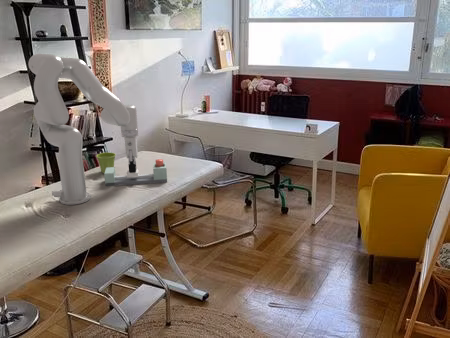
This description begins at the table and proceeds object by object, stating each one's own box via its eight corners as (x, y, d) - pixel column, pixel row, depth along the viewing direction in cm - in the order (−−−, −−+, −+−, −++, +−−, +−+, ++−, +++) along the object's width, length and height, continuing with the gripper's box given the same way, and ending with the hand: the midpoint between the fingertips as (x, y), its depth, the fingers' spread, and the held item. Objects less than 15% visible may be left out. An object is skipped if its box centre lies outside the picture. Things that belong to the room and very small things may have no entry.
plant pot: (119, 168, 227) (118, 152, 225) (113, 174, 219) (112, 157, 216) (102, 168, 228) (100, 152, 226) (95, 174, 219) (93, 157, 217)
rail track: (105, 186, 203) (104, 171, 201) (107, 179, 212) (106, 165, 210) (167, 182, 207) (166, 167, 205) (166, 175, 216) (165, 162, 214)
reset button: (155, 167, 207) (155, 161, 206) (155, 165, 211) (155, 159, 210) (163, 167, 208) (163, 161, 207) (163, 165, 211) (163, 158, 210)
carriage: (127, 177, 205) (126, 163, 203) (128, 173, 211) (126, 159, 209) (138, 177, 206) (137, 162, 204) (138, 172, 212) (137, 158, 209)
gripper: (137, 136, 195) (140, 176, 201) (138, 128, 210) (141, 165, 216) (120, 137, 194) (123, 177, 200) (122, 128, 209) (125, 166, 215)
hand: (132, 170), depth 208 cm, fingers closed on carriage, 3 cm apart
